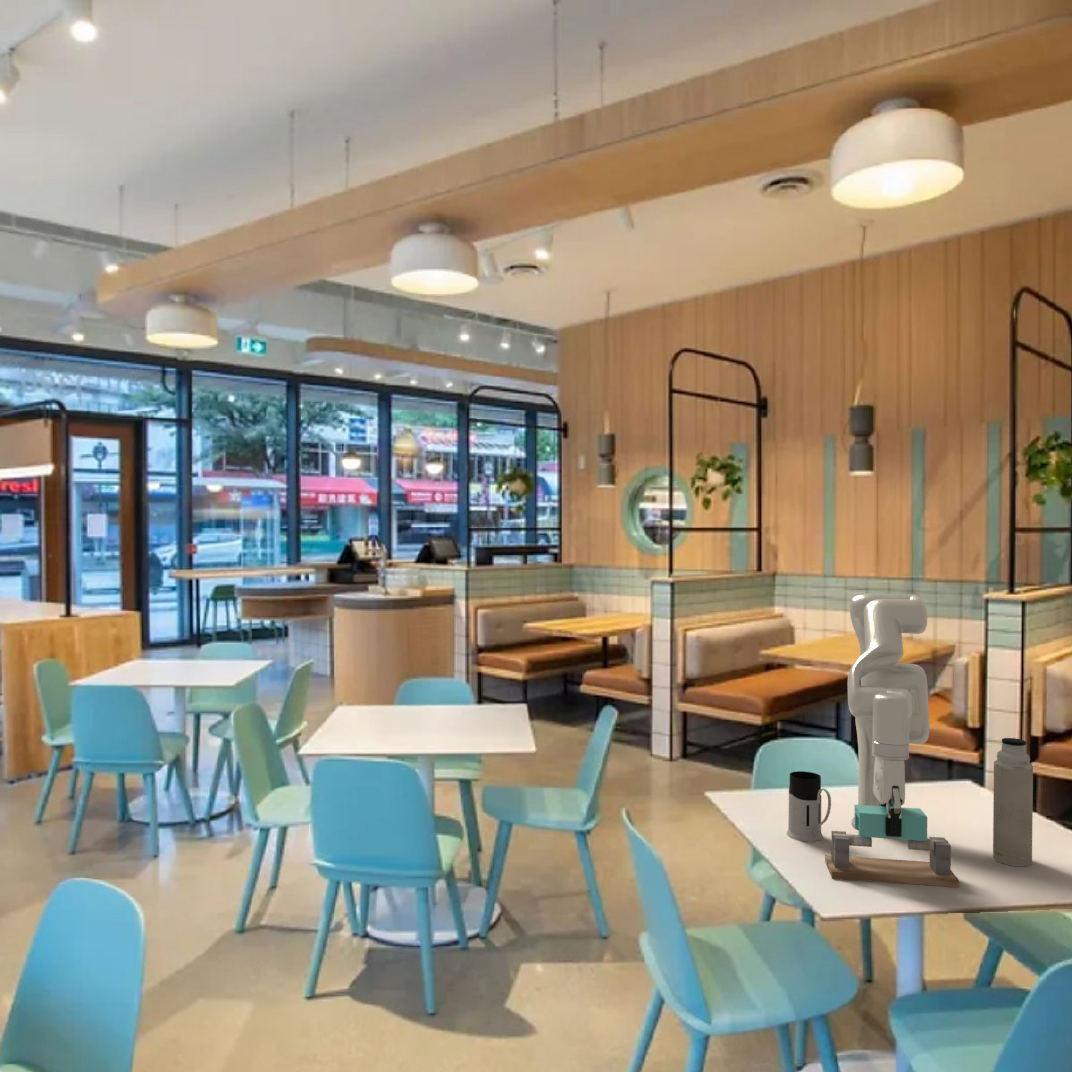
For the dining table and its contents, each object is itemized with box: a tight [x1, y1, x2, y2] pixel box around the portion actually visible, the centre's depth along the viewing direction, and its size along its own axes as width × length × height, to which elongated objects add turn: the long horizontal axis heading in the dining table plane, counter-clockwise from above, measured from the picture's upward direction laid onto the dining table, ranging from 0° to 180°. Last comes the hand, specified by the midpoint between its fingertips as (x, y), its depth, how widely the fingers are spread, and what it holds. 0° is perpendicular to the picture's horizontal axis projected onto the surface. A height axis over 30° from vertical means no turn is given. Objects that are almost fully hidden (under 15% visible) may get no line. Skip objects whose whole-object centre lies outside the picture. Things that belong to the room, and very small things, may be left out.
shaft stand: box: [824, 830, 960, 888], centre depth 196 cm, size 10×26×8 cm, turn 80°
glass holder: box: [786, 770, 832, 842], centre depth 218 cm, size 9×14×15 cm, turn 19°
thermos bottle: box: [992, 737, 1034, 867], centre depth 204 cm, size 8×8×28 cm
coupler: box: [853, 804, 928, 841], centre depth 196 cm, size 6×14×5 cm, turn 80°
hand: (889, 830), depth 196 cm, fingers closed on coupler, 6 cm apart
